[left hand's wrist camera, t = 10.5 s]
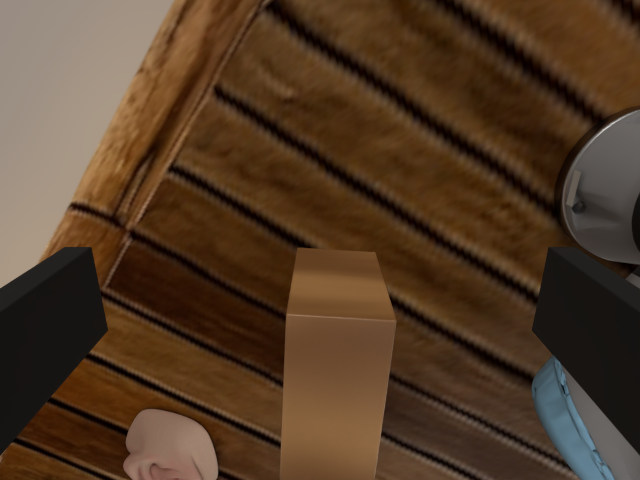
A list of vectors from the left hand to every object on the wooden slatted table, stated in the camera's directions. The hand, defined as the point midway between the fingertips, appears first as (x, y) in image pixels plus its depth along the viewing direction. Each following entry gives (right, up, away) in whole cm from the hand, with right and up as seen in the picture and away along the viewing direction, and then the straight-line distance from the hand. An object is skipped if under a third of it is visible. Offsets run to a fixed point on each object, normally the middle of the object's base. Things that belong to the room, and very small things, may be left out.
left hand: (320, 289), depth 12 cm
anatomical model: (-19, -25, +42) cm, 53 cm away
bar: (0, -10, +21) cm, 24 cm away
